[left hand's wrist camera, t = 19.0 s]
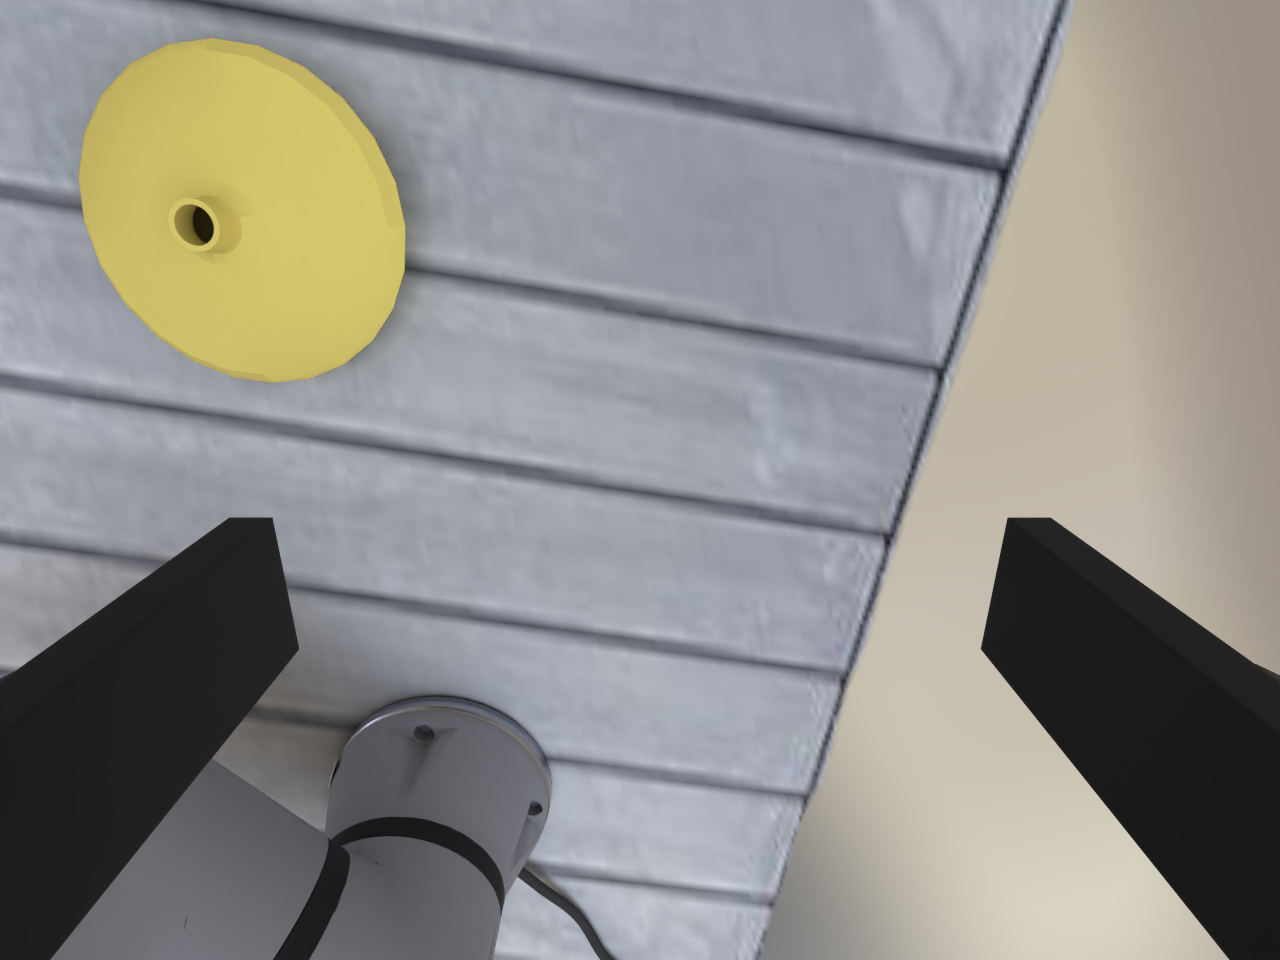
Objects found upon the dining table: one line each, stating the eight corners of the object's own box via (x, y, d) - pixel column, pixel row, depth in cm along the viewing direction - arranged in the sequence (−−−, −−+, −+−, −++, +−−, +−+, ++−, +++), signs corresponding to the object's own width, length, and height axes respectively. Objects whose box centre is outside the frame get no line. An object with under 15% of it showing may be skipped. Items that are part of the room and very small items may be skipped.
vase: (307, 426, 40) (242, 466, 34) (65, 220, 36) (-63, 220, 30) (485, 227, 37) (449, 229, 30) (234, -27, 33) (130, -90, 26)
